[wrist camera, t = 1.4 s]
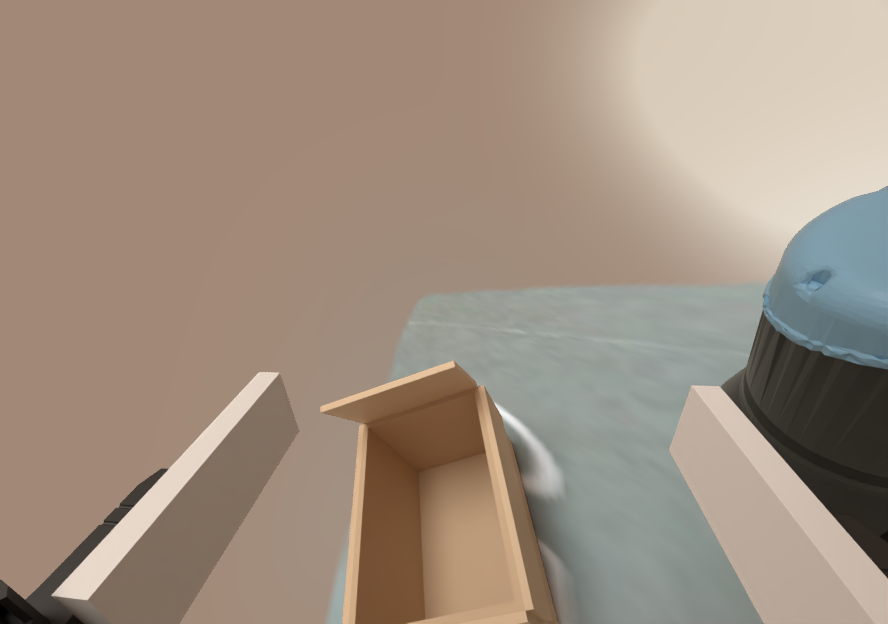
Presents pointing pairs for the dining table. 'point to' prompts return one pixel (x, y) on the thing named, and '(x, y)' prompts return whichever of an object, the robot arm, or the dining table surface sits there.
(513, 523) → the carton
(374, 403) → the flap
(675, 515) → the dining table surface
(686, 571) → the dining table surface
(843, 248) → the robot arm
